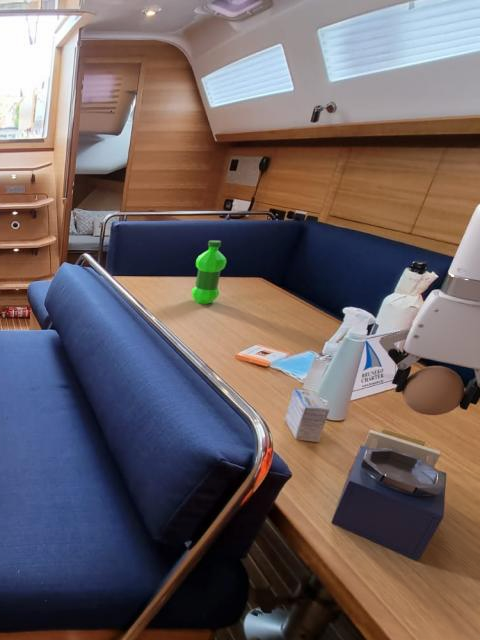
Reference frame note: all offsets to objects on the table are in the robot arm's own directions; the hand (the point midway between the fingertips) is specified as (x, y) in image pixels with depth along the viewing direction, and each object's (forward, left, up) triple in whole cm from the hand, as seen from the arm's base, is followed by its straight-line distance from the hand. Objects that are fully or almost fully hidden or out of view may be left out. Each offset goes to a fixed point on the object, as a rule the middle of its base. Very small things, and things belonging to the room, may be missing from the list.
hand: (430, 396), depth 66 cm
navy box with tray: (+4, +3, -23) cm, 23 cm away
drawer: (-6, -3, -22) cm, 23 cm away
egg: (0, 0, -3) cm, 3 cm away
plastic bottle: (-47, -99, -23) cm, 112 cm away
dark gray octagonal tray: (+4, +3, -13) cm, 14 cm away
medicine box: (-6, -20, -23) cm, 31 cm away
